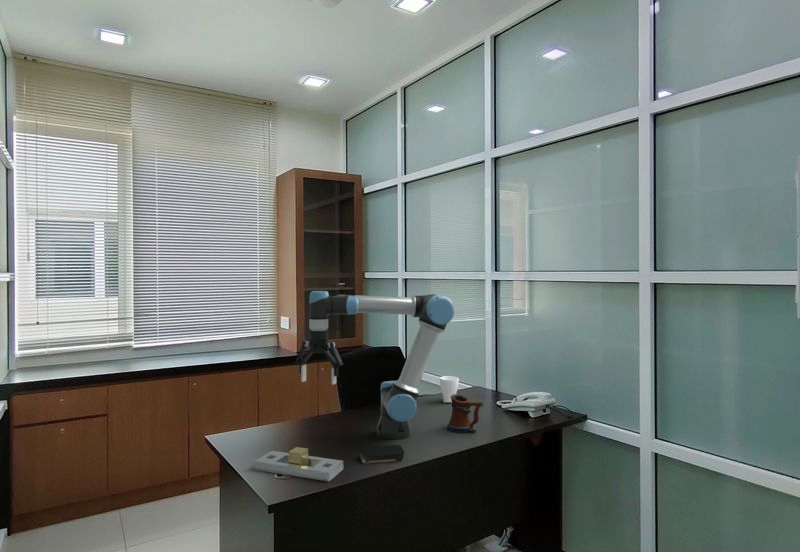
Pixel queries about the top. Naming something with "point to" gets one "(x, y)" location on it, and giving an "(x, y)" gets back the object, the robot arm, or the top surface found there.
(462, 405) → the mug
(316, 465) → the rail
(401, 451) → the black sponge
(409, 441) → the top surface
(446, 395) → the cup
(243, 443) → the top surface
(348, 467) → the top surface
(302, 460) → the yellow block
